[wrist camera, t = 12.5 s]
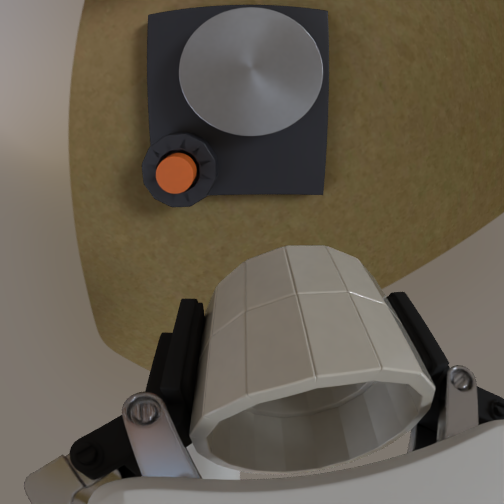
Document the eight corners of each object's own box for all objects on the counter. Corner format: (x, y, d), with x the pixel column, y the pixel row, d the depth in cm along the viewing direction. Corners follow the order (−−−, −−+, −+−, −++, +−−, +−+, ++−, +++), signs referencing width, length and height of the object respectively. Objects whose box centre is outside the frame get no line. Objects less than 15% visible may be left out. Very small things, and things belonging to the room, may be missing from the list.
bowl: (353, 361, 13) (383, 457, 8) (215, 368, 13) (208, 475, 8) (391, 238, 10) (476, 346, 5) (199, 238, 10) (163, 377, 5)
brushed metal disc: (320, 137, 19) (321, 138, 19) (182, 138, 19) (181, 139, 19) (320, 13, 15) (322, 12, 14) (180, 13, 14) (179, 11, 14)
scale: (318, 194, 25) (327, 205, 22) (156, 196, 24) (146, 208, 22) (323, 15, 17) (333, 5, 14) (149, 19, 16) (137, 10, 14)
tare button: (197, 187, 21) (194, 193, 20) (163, 188, 21) (157, 195, 20) (195, 151, 20) (192, 155, 19) (159, 154, 20) (153, 157, 19)
